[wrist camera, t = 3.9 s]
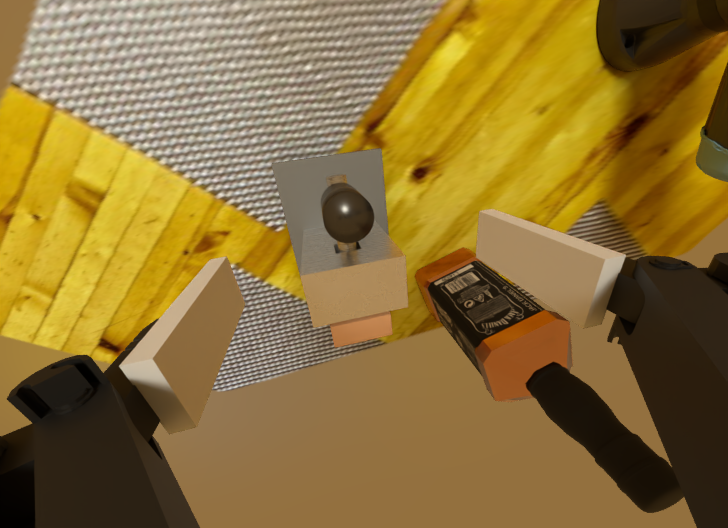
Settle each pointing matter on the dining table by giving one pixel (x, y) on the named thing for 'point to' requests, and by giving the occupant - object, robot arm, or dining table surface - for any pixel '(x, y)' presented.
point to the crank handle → (345, 213)
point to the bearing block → (352, 276)
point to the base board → (308, 182)
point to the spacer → (361, 329)
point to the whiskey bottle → (539, 369)
